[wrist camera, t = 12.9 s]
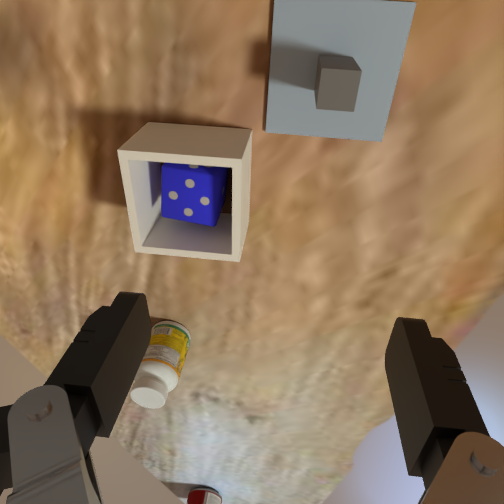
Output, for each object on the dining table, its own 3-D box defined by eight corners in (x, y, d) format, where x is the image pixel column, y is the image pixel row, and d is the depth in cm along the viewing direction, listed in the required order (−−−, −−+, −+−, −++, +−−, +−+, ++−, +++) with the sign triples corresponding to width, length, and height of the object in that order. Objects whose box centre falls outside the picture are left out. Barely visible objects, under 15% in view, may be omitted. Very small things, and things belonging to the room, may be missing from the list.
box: (148, 121, 34) (117, 149, 29) (252, 129, 34) (241, 159, 28) (159, 213, 40) (135, 252, 34) (248, 221, 39) (239, 262, 33)
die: (225, 201, 38) (215, 227, 34) (175, 192, 38) (160, 217, 34) (230, 154, 35) (221, 177, 31) (177, 144, 35) (161, 165, 31)
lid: (275, -7, 28) (269, -4, 23) (413, 1, 27) (439, 6, 22) (266, 129, 34) (259, 155, 29) (380, 138, 33) (394, 167, 28)
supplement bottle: (165, 313, 48) (138, 376, 40) (199, 334, 50) (180, 399, 42) (144, 333, 51) (115, 397, 43) (177, 353, 52) (155, 417, 45)
